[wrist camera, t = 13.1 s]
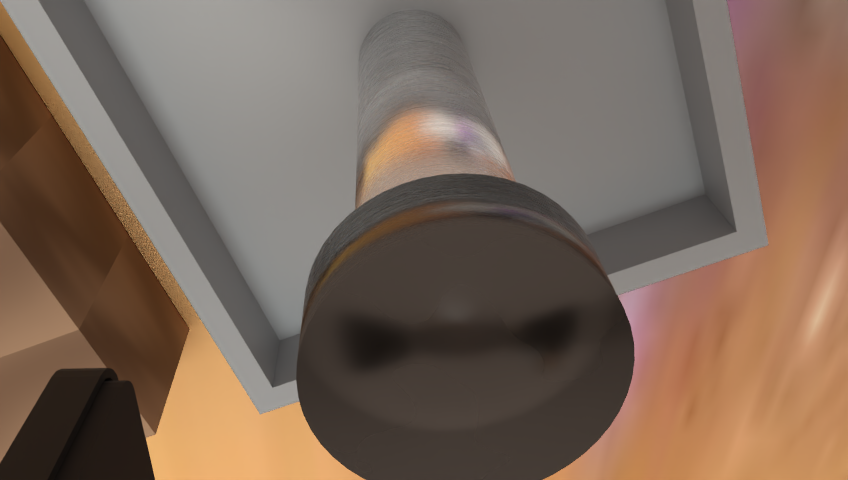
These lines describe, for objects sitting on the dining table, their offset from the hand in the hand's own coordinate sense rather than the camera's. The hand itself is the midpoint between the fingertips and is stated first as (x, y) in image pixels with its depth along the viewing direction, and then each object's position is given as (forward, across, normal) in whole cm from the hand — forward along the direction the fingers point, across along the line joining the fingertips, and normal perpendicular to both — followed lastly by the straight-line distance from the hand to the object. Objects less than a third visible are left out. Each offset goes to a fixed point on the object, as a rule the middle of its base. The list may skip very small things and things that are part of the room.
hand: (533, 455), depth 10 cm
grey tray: (+15, +1, 0) cm, 15 cm away
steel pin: (+15, +1, 0) cm, 15 cm away
